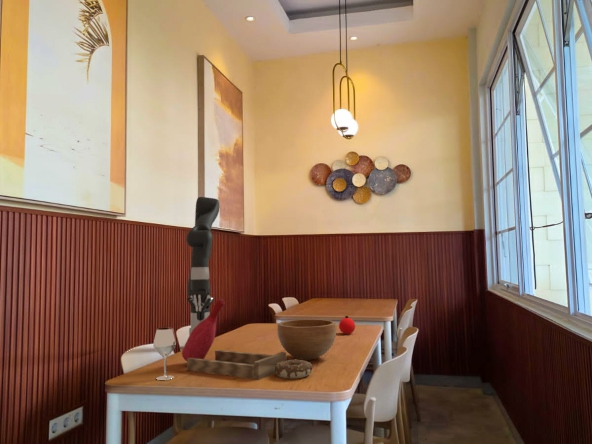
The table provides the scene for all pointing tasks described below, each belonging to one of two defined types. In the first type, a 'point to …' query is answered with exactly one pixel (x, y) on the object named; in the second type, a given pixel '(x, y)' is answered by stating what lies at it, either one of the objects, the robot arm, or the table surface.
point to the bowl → (307, 337)
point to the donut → (293, 369)
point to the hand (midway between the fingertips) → (200, 320)
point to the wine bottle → (202, 335)
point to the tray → (238, 364)
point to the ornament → (347, 325)
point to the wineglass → (165, 346)
